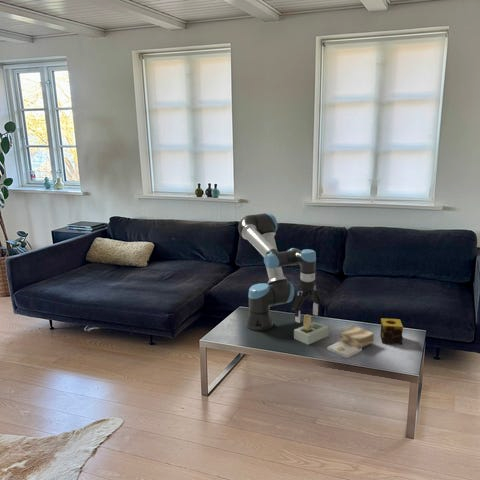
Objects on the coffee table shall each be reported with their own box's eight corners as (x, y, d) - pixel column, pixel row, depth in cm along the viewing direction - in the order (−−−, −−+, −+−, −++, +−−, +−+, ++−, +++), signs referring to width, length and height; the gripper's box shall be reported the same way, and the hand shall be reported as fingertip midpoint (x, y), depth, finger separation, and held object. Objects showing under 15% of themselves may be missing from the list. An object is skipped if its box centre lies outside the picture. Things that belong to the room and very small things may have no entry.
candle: (402, 345, 230) (403, 327, 228) (381, 343, 232) (382, 325, 230) (399, 336, 240) (401, 319, 238) (379, 335, 242) (380, 317, 240)
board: (327, 349, 227) (327, 346, 227) (342, 342, 235) (342, 339, 234) (346, 358, 218) (346, 355, 218) (361, 350, 225) (362, 347, 225)
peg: (301, 337, 239) (301, 315, 237) (306, 334, 242) (307, 313, 239) (307, 339, 236) (307, 318, 234) (312, 337, 239) (312, 316, 236)
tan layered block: (339, 341, 233) (339, 332, 232) (353, 334, 240) (354, 325, 239) (359, 349, 224) (359, 340, 223) (373, 341, 231) (373, 333, 230)
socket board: (294, 338, 240) (294, 329, 239) (314, 329, 250) (314, 321, 249) (308, 344, 233) (308, 335, 232) (328, 335, 243) (328, 327, 242)
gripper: (296, 287, 221) (295, 327, 227) (329, 276, 237) (327, 314, 242) (285, 283, 227) (284, 322, 232) (318, 272, 242) (316, 309, 248)
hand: (306, 318), depth 237 cm, fingers open, 13 cm apart
